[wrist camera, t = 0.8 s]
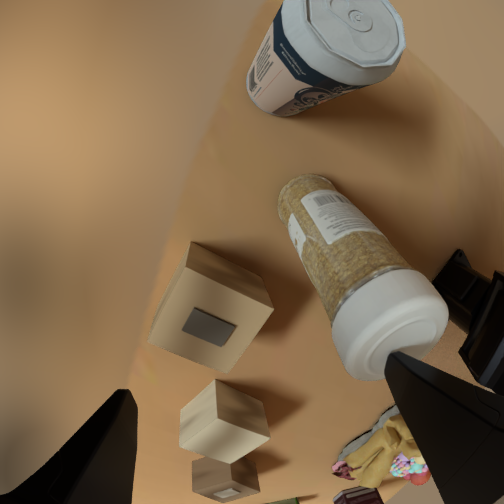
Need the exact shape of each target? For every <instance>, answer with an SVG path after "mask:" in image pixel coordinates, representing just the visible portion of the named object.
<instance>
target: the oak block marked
mask: <svg viewBox="0 0 504 504" xmlns="http://www.w3.org/2000/svg"><path fill="white" fill-rule="evenodd" d="M273 310H274V307H273V305H272V302H271V300H270V297H269V295H268V292H267V290H266V287H265V285H264V282H263V280H262V277H260V276H258V275H256V274H254V273H252V272H250V271H248V270H246V269H244V268H242V267H240V266H238V265H236V264H234V263H232V262H230V261H228V260H226V259H224V258H222V257H220V256H219V255H217V254H215V253H213V252H211V251H209V250H207V249H205V248H203V247H201V246H199V245H197V244H195V243H193V242H190V244H189V246H188V248H187V250H186V251H185V253H184V255H183V257H182V259H181V261H180V263H179V265H178V267H177V268H176V270H175V272H174V274H173V276H172V278H171V280H170V282H169V284H168V286H167V288H166V290H165V292H164V294H163V296H162V298H161V300H160V302H159V304H158V306H157V310H156V313H155V316H154V319H153V323H152V326H151V330H150V333H149V336H148V340H147V342H149V343H151V344H153V345H156V346H158V347H160V348H162V349H165V350H167V351H169V352H172V353H174V354H176V355H179V356H181V357H184V358H186V359H189V360H191V361H194V362H196V363H199V364H201V365H204V366H207V367H209V368H212V369H215V370H217V371H220V372H223V373H226V374H228V373H229V372H230V370H231V369H232V368H233V366H234V365H235V363H236V362H237V361H238V359H239V358H240V357H241V355H242V354H243V353H244V351H245V350H246V348H247V347H248V346H249V344H250V343H251V341H252V340H253V339H254V337H255V336H256V334H257V333H258V332H259V330H260V329H261V327H262V326H263V325H264V323H265V322H266V320H267V319H268V317H269V316H270V314H271V313H272V312H273Z"/></svg>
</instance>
